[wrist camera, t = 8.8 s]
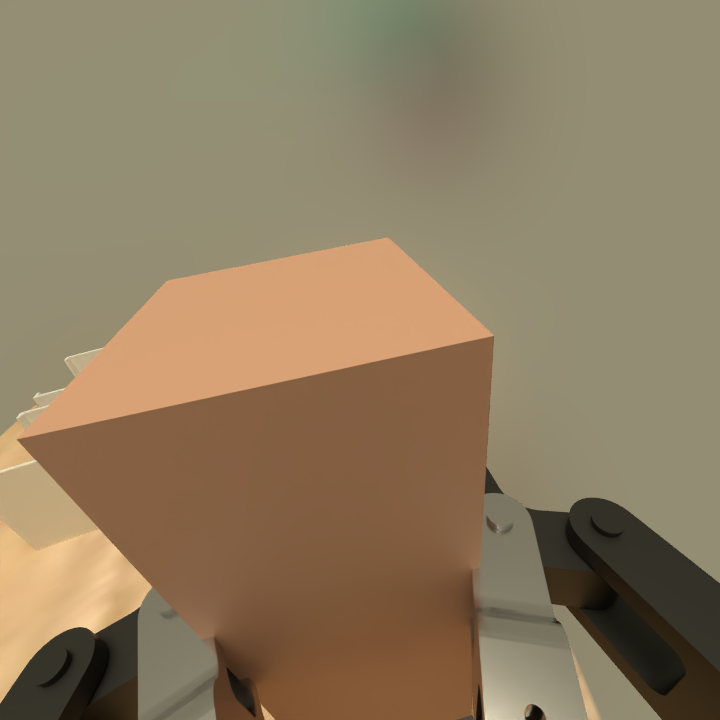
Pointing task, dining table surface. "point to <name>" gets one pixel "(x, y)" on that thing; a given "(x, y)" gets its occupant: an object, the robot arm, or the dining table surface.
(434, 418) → the pillar
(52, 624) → the dining table surface
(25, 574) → the dining table surface
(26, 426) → the white divider rack
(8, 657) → the dining table surface
